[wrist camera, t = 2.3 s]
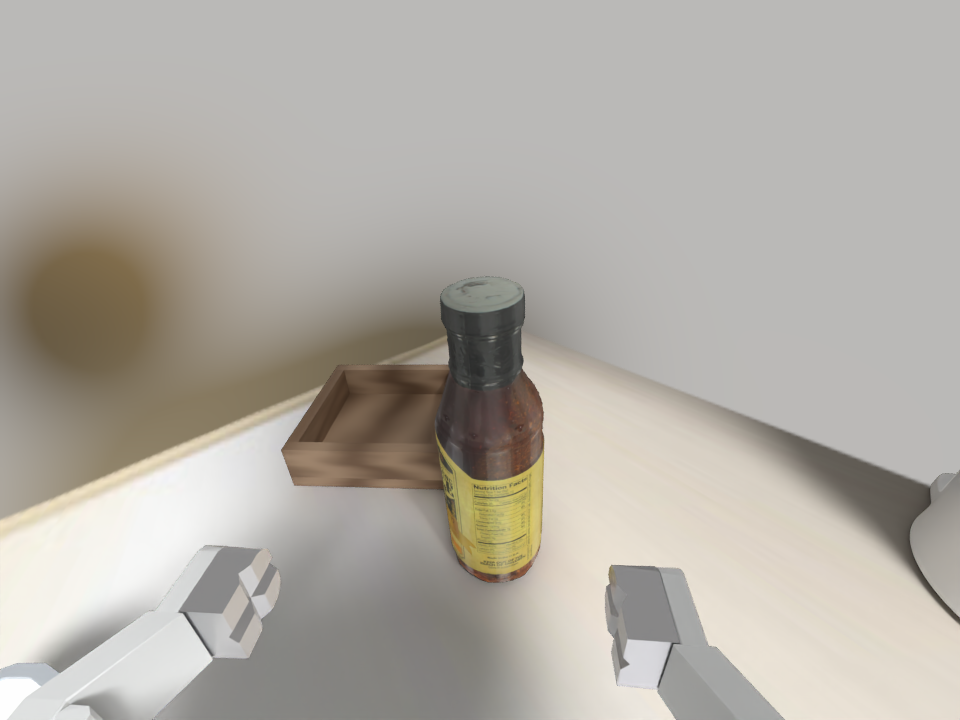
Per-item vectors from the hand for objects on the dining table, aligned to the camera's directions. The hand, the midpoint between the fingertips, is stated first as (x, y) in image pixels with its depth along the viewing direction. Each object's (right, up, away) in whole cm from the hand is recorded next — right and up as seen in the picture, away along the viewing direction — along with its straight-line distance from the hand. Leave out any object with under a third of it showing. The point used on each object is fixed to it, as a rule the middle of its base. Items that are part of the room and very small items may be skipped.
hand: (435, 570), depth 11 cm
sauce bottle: (+2, -9, +21) cm, 23 cm away
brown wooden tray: (-8, -2, +32) cm, 33 cm away
